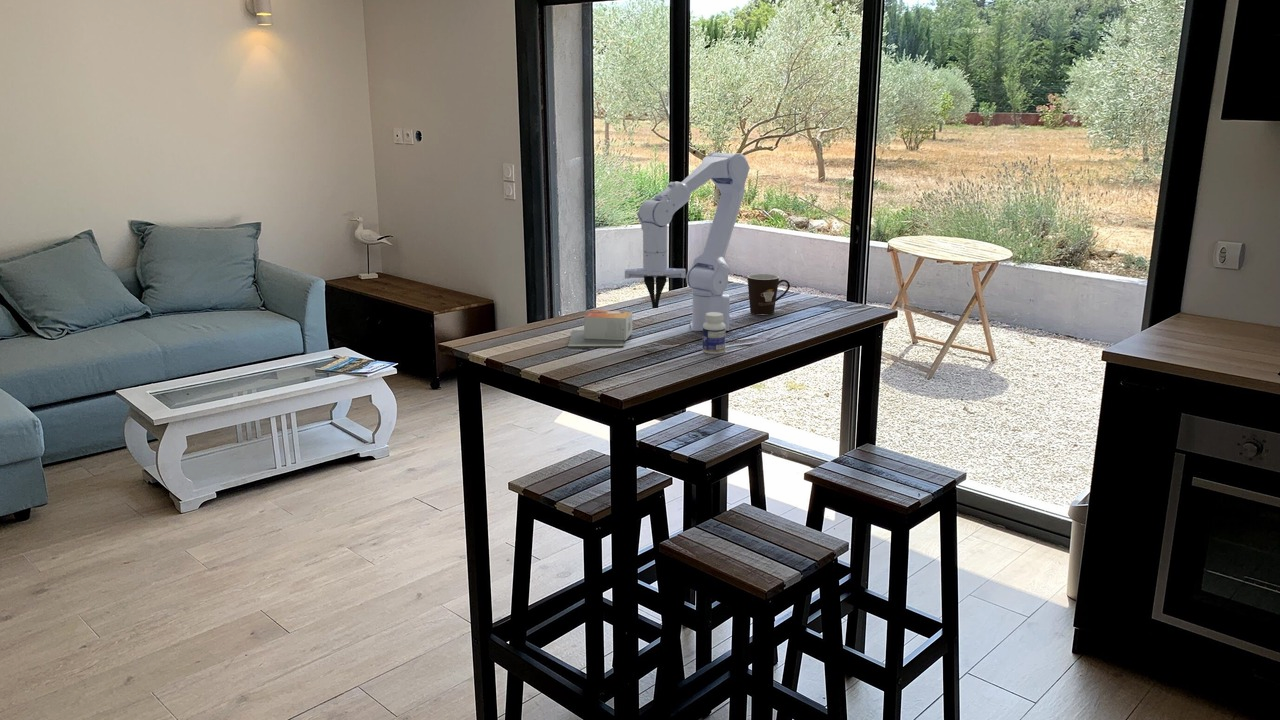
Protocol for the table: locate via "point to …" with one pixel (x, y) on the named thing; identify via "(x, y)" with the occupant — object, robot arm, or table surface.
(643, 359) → the table surface
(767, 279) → the coffee mug
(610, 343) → the mat
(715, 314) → the pill bottle
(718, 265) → the robot arm
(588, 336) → the small box
